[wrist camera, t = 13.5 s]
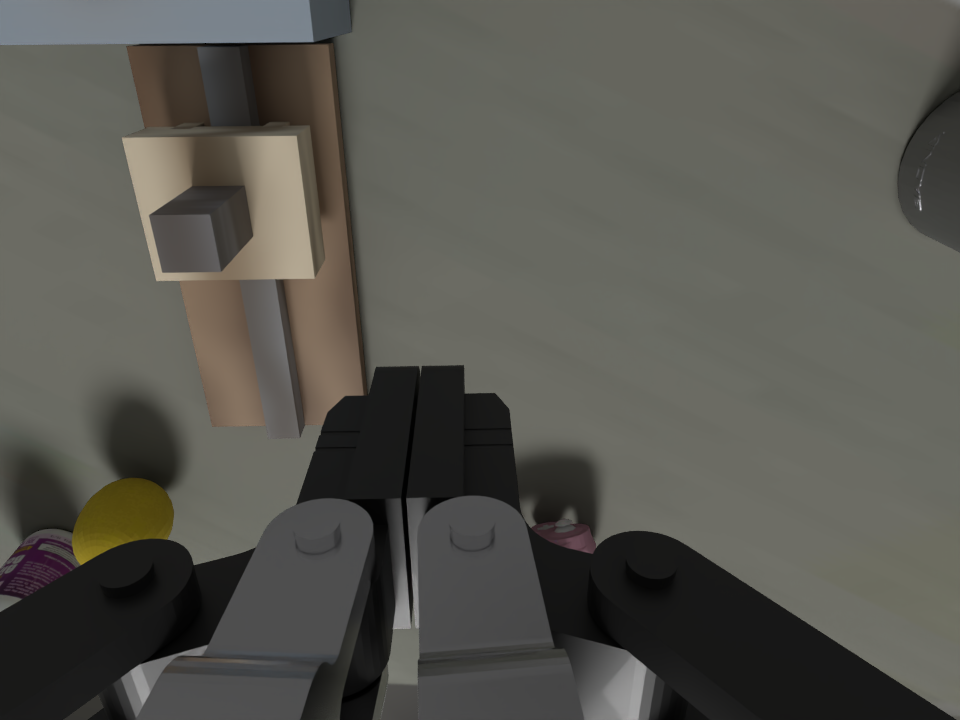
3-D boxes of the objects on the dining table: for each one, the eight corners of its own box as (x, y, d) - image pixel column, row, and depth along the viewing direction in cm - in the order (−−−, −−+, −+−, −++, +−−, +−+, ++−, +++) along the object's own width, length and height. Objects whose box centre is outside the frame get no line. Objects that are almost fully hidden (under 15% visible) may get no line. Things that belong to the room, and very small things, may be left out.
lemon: (93, 471, 48) (28, 553, 41) (160, 444, 47) (105, 523, 40) (141, 527, 50) (87, 613, 43) (205, 502, 49) (161, 587, 42)
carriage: (314, 121, 35) (268, 157, 27) (329, 251, 38) (292, 319, 30) (158, 123, 35) (65, 159, 27) (186, 253, 38) (111, 321, 30)
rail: (333, 42, 35) (322, 46, 33) (369, 411, 46) (363, 437, 43) (139, 44, 35) (112, 47, 33) (219, 414, 46) (204, 439, 43)
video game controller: (585, 499, 52) (593, 524, 45) (598, 558, 52) (607, 592, 45) (458, 523, 53) (447, 551, 46) (471, 581, 53) (461, 618, 46)
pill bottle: (32, 515, 49) (-59, 622, 41) (106, 540, 51) (33, 650, 42) (17, 565, 52) (-72, 676, 43) (88, 588, 53) (16, 701, 44)
